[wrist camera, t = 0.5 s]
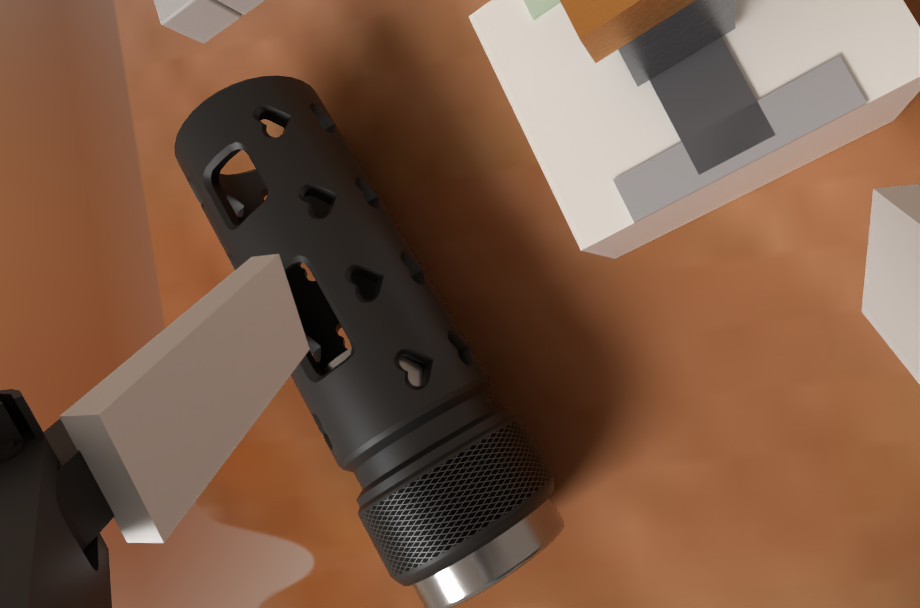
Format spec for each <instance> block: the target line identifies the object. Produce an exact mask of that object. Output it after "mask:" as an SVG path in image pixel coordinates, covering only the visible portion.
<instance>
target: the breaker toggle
mask: <svg viewBox="0 0 920 608" xmlns="http://www.w3.org/2000/svg"><path fill="white" fill-rule="evenodd" d="M560 2H561V3H562V5H563V7H564V9H565V11H566V13H567V15H568V17H569V19H570V21H571V23H572V25H573V27H574V29H575V31H576V33H577V35H578V37H579V39H580V41H581V42H582V44H583V45H584V47H585V48H586V50H587V51H588V53H589V54H590V56H591V57H592V59H593V60H594V62H595V63H597V62H599V61H600V60H602V59H603V58H605V57H607V56H608V55H610V54H611V53H613V52H614V51H616V50H619V52H620V54H621V56H622V58H623V60H624V62H625V64H626V66H627V67H628V69H629V71H630V73H631V75H632V77H633V79H634V81H635V82H636V84H637V86H640V85H642V84H643V83H645V82H647V81H649V80H650V79H652V78H654V77H655V76H657V75H659V74H660V73H662V72H664V71H665V70H667V69H669V68H670V67H672V66H674V65H675V64H677V63H679V62H680V61H682V60H684V59H685V58H687V57H689V56H690V55H692V54H694V53H695V52H697V51H699V50H700V49H702V48H704V47H705V46H707V45H709V44H710V43H712V42H714V41H715V40H717V39H719V38H720V37H722V36H724V35H725V34H727V33H729V32H730V31H732V30H734V29H735V1H734V0H560Z"/></svg>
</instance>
